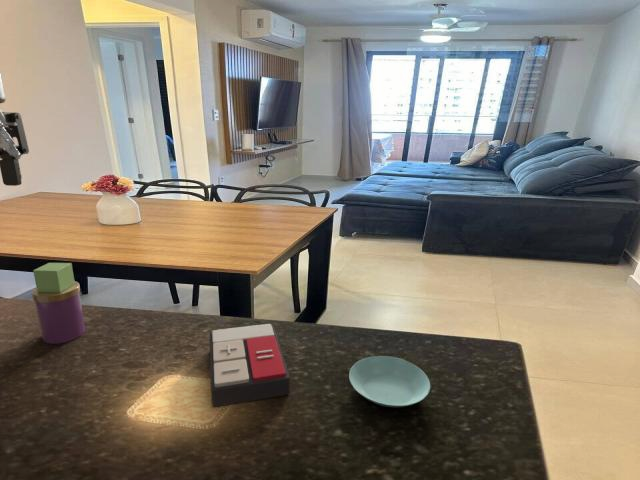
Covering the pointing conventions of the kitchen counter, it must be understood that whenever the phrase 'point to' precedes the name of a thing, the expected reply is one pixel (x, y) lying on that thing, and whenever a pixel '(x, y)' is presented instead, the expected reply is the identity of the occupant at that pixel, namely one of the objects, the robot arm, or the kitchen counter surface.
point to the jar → (60, 314)
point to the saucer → (389, 381)
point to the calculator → (246, 365)
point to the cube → (54, 277)
